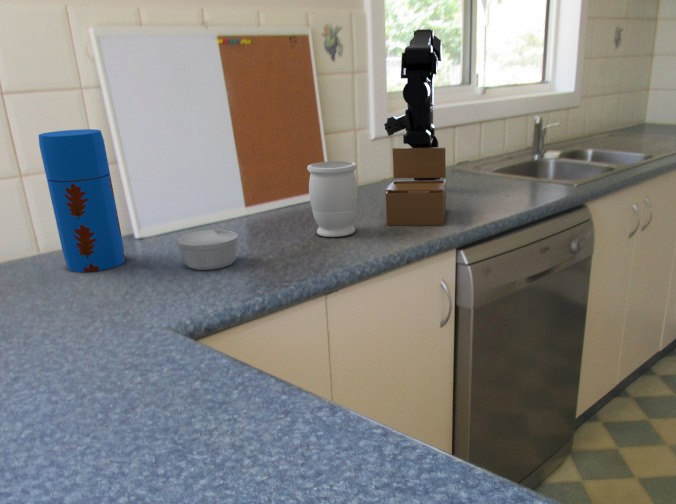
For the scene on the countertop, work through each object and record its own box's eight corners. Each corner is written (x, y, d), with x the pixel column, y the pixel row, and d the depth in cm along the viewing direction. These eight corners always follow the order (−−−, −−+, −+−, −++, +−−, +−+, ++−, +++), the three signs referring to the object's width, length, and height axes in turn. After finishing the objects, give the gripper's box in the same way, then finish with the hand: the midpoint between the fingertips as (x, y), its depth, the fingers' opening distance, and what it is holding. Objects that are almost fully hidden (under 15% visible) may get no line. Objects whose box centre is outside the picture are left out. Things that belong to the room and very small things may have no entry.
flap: (393, 178, 162) (393, 177, 162) (445, 177, 161) (445, 177, 161) (392, 148, 159) (392, 148, 159) (445, 147, 158) (445, 147, 158)
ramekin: (253, 259, 129) (250, 232, 128) (210, 275, 120) (207, 247, 119) (211, 252, 135) (208, 226, 133) (168, 267, 126) (164, 240, 124)
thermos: (61, 274, 124) (30, 138, 115) (71, 258, 133) (44, 131, 124) (123, 268, 126) (97, 134, 117) (128, 253, 136) (106, 127, 127)
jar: (331, 224, 153) (327, 159, 148) (368, 229, 148) (365, 162, 143) (302, 236, 144) (296, 166, 139) (341, 241, 139) (336, 170, 134)
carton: (394, 210, 165) (393, 177, 162) (445, 210, 164) (445, 177, 161) (386, 225, 151) (385, 190, 148) (442, 225, 150) (442, 189, 147)
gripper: (390, 101, 168) (392, 163, 173) (380, 107, 150) (382, 176, 156) (434, 100, 166) (435, 162, 172) (429, 106, 149) (430, 175, 154)
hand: (420, 169), depth 163 cm, fingers closed
